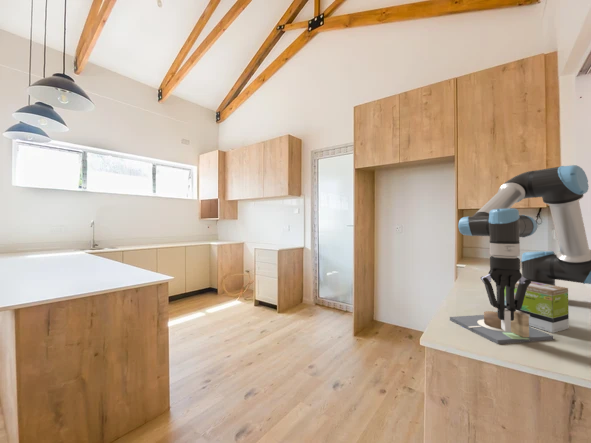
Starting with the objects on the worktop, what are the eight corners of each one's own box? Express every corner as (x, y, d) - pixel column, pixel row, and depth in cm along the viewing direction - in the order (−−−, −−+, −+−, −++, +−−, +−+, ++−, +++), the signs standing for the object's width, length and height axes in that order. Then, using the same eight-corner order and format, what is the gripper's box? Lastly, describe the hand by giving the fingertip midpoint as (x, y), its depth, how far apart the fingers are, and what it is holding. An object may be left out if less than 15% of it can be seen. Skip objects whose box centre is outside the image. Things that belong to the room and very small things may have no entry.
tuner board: (495, 317, 100) (495, 313, 100) (556, 340, 80) (556, 336, 80) (448, 320, 98) (448, 316, 98) (498, 345, 77) (498, 341, 77)
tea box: (503, 318, 99) (502, 280, 99) (519, 315, 102) (518, 278, 103) (553, 334, 85) (552, 289, 85) (570, 329, 88) (569, 286, 88)
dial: (479, 321, 92) (478, 300, 92) (496, 320, 93) (496, 299, 93) (519, 339, 77) (518, 315, 78) (539, 338, 78) (539, 314, 78)
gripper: (485, 257, 80) (487, 332, 80) (536, 258, 76) (538, 337, 76) (476, 254, 87) (477, 323, 87) (522, 255, 83) (524, 327, 83)
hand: (506, 329), depth 81 cm, fingers closed
